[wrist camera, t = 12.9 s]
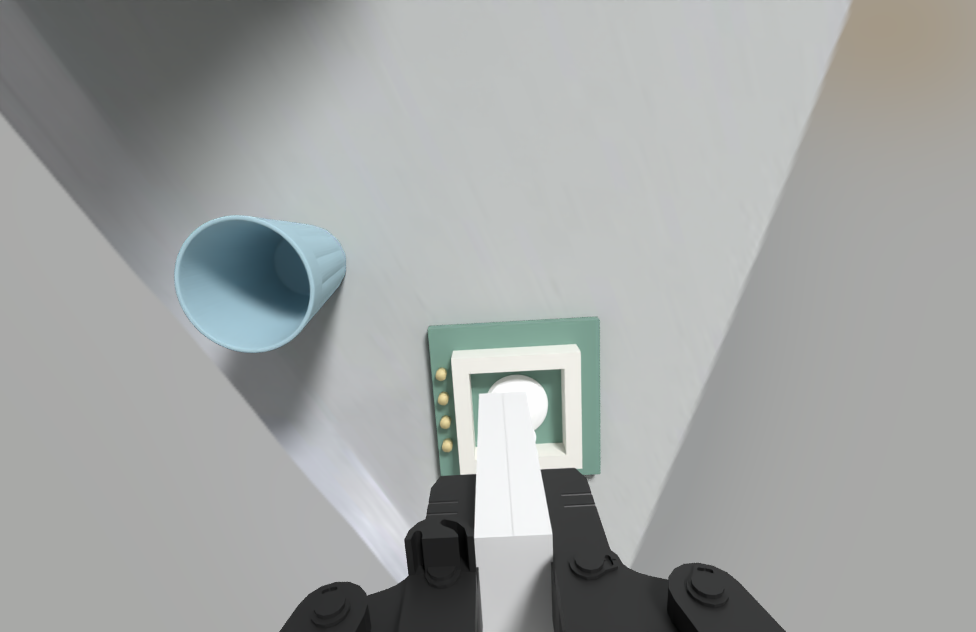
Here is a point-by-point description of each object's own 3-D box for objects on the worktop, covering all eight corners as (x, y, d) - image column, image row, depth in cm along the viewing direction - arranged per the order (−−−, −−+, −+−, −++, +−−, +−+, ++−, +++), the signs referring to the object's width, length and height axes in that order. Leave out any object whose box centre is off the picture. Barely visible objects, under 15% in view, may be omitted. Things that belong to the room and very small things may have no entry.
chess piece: (519, 444, 40) (528, 525, 30) (472, 407, 39) (466, 478, 29) (560, 400, 39) (584, 470, 29) (513, 362, 38) (521, 420, 28)
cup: (375, 297, 38) (333, 333, 28) (282, 322, 38) (206, 368, 28) (342, 198, 36) (284, 199, 26) (245, 227, 37) (150, 238, 27)
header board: (429, 326, 38) (424, 336, 36) (596, 316, 38) (605, 326, 35) (442, 475, 42) (439, 496, 39) (597, 467, 41) (605, 488, 38)
